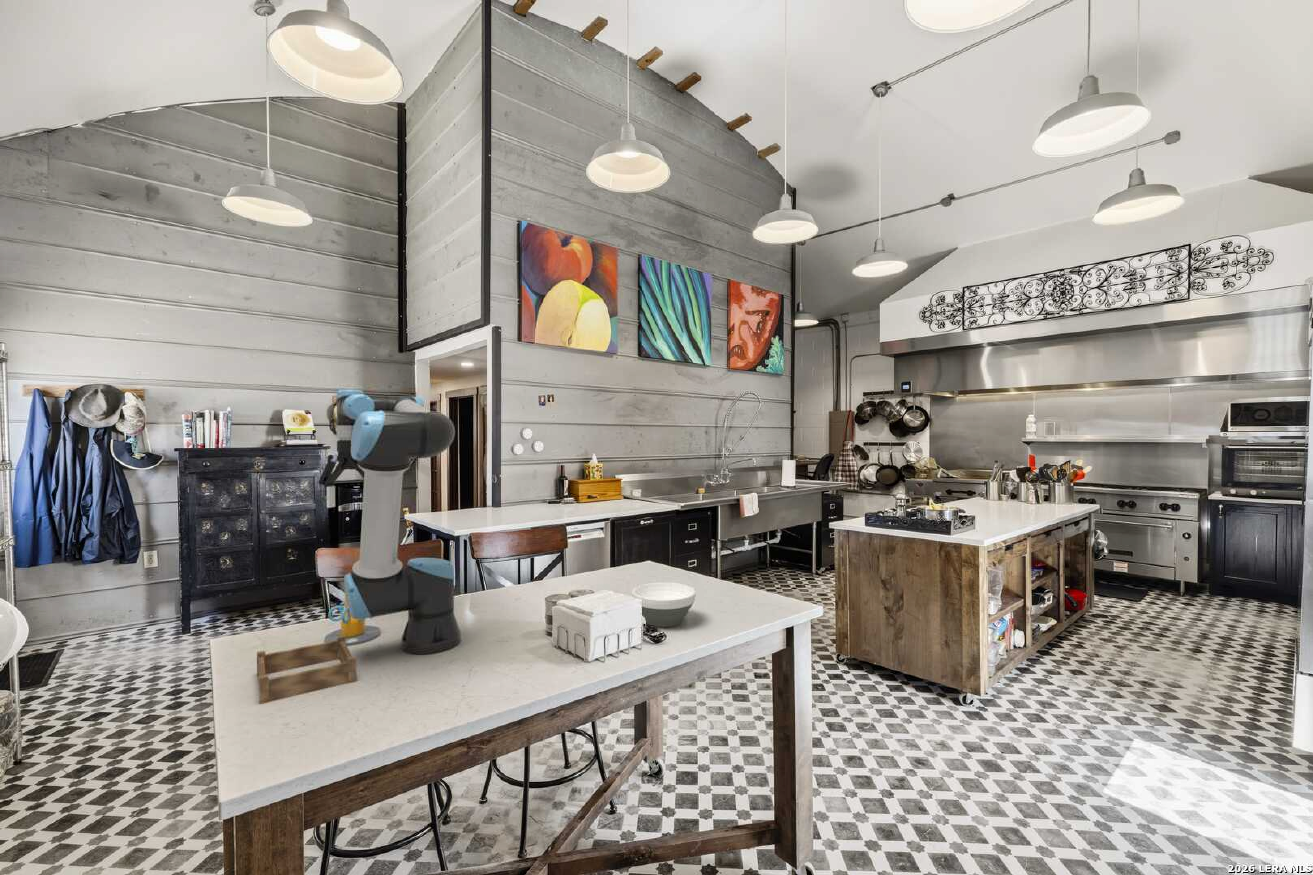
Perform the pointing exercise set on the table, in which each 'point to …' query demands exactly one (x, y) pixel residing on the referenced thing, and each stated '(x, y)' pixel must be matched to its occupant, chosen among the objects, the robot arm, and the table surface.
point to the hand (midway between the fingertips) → (350, 507)
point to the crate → (305, 679)
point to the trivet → (368, 635)
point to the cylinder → (348, 621)
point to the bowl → (664, 602)
